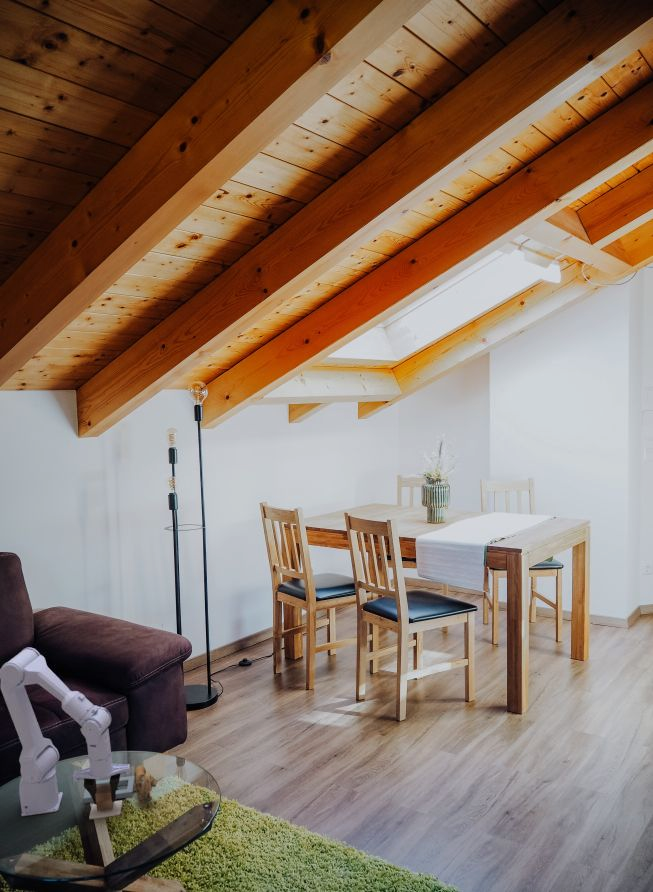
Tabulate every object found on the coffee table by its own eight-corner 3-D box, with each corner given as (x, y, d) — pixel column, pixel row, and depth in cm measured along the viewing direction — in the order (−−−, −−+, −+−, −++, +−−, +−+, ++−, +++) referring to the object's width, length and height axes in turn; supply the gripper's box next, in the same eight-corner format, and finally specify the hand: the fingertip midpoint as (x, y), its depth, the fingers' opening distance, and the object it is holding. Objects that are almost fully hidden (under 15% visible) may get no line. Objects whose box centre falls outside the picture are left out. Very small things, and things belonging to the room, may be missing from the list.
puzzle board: (83, 803, 209) (83, 798, 209) (87, 786, 216) (87, 781, 216) (132, 796, 211) (132, 791, 211) (135, 780, 218) (134, 775, 218)
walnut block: (97, 811, 203) (95, 794, 202) (99, 802, 207) (97, 785, 206) (112, 809, 204) (110, 792, 203) (114, 799, 208) (112, 783, 207)
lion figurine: (161, 804, 207) (158, 774, 205) (142, 811, 204) (139, 781, 203) (144, 777, 219) (141, 749, 218) (126, 784, 217) (122, 755, 215)
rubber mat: (89, 819, 202) (89, 817, 202) (92, 806, 208) (92, 804, 208) (120, 814, 203) (120, 813, 203) (122, 801, 209) (122, 800, 209)
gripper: (129, 742, 208) (134, 787, 210) (74, 750, 205) (79, 795, 208) (126, 757, 201) (131, 803, 203) (69, 765, 199) (75, 811, 201)
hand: (105, 800), depth 205 cm, fingers closed on walnut block, 4 cm apart
